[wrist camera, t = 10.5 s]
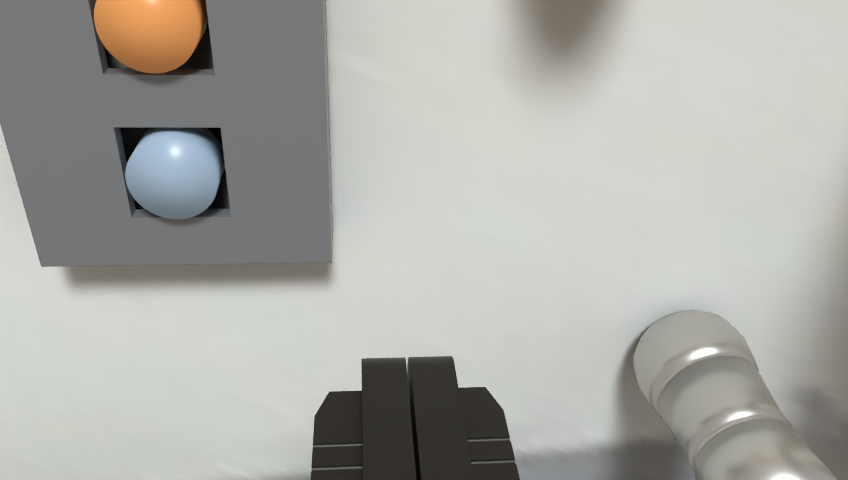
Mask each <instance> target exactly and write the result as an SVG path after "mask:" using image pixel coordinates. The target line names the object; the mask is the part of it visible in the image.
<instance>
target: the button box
mask: <svg viewBox="0 0 848 480" xmlns="http://www.w3.org/2000/svg"><path fill="white" fill-rule="evenodd" d="M95 3H96V2H95V0H0V124H1V128H2V131H3V135H4V138H5V142H6V145H7V149H8V152H9V155H10V159H11V162H12V166H13V169H14V173H15V176H16V180H17V183H18V187H19V190H20V194H21V197H22V201H23V204H24V208H25V211H26V215H27V218H28V222H29V225H30V229H31V232H32V236H33V239H34V243H35V246H36V250H37V253H38V257H39V260H40V264H41V267H47V266H120V265H192V264H265V263H332V240H333V220H332V188H331V156H330V124H329V92H328V60H327V28H326V0H206V6H207V15H208V24H209V32H210V41H211V49H212V58H213V67H214V69H174V70H172V71H169V72H165V73H155V74H154V73H145V72H140V71H137V70H134V69H132V68H108V64H107V59H106V53H105V48H104V45H103V43H102V42H101V40H100V38H99V36H98V33H97V31H96V27H95V22H94V8H95ZM120 127H169V128H221V135H222V144H223V153H224V161H225V170H226V179H227V187H228V196H229V204H230V209H206V210H205V211H203V212H202V213H200V214H198V215H196V216H193V217H190V218H185V219H169V218H164V217H160V216H158V215H155V214H153V213H151V212H149V211H148V210H146V209H136V208H135V202H134V198H133V196H132V195H131V193H130V191H129V189H128V187H127V183H126V178H125V170H126V165H127V161H126V156H125V151H124V146H123V141H122V136H121V131H120Z"/></svg>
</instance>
